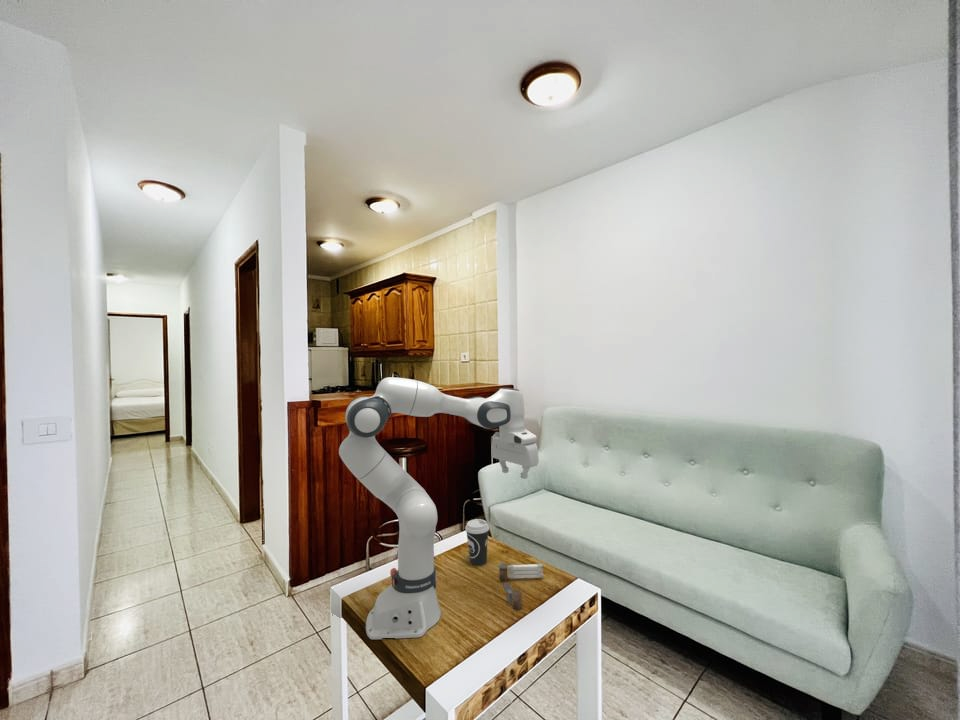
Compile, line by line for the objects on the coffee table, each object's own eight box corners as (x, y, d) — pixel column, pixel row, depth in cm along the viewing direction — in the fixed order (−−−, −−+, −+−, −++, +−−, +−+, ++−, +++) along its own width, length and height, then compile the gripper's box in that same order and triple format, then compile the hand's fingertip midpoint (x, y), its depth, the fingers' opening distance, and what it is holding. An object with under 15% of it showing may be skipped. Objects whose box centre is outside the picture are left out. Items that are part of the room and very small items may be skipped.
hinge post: (500, 583, 134) (499, 568, 134) (497, 578, 137) (497, 564, 137) (509, 581, 134) (509, 567, 135) (506, 576, 138) (506, 562, 138)
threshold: (510, 600, 124) (510, 599, 124) (502, 585, 133) (502, 584, 133) (517, 599, 124) (517, 598, 124) (509, 584, 133) (509, 583, 133)
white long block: (509, 578, 135) (508, 567, 135) (508, 576, 137) (508, 565, 137) (542, 577, 135) (542, 566, 135) (542, 574, 137) (541, 563, 137)
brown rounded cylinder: (512, 611, 118) (511, 596, 118) (507, 601, 124) (507, 586, 124) (523, 609, 119) (522, 594, 119) (517, 599, 124) (517, 584, 124)
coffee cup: (488, 568, 143) (486, 529, 144) (463, 567, 145) (462, 527, 146) (492, 556, 153) (491, 518, 153) (469, 554, 155) (468, 517, 155)
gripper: (486, 432, 136) (488, 471, 136) (526, 440, 120) (528, 483, 120) (499, 430, 140) (501, 467, 140) (540, 437, 124) (542, 479, 124)
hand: (514, 475), depth 130 cm, fingers open, 8 cm apart
